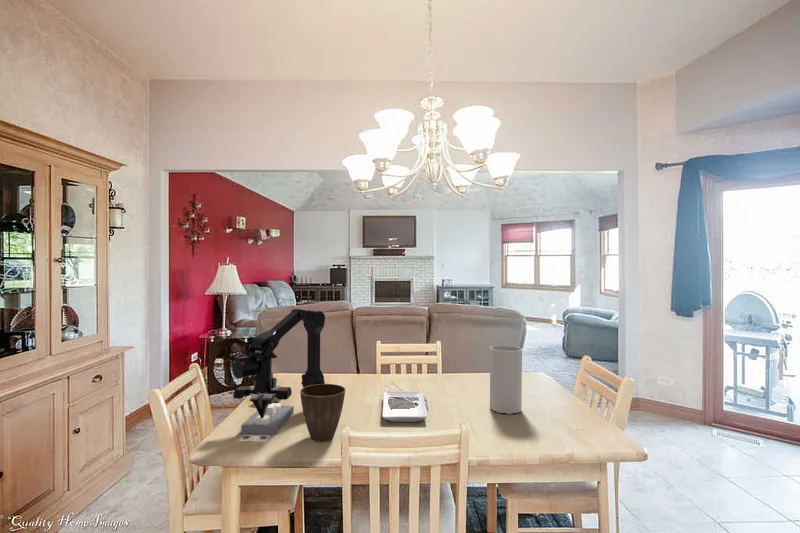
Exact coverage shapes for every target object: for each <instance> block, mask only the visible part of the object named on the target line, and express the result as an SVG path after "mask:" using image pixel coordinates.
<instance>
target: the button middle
mask: <svg viewBox="0 0 800 533" xmlns="http://www.w3.org/2000/svg"><path fill="white" fill-rule="evenodd" d="M276 405H277V404H272V403H271V404H270V403H269V405H268V407H267V410H266V413H265V415H267V416H270V417H272V418H274V417H275V416H276Z"/></svg>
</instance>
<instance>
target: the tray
mask: <svg viewBox="0 0 800 533" xmlns="http://www.w3.org/2000/svg"><path fill="white" fill-rule="evenodd" d="M389 397H418V398H419V405H418V406H417V407H415V408H410V409H392V410H391V409H390V407H389V405H388V398H389ZM427 417H428V412H427V406H426V402H425V398H424V394H423V391H421V390H415V391H414V390H412V391H410V390H405V391H401V390H400V391H384V392H383V399H382V414H381V418H383V419H384V420H387V421H389V422H391V423H392V422H395V423H396V422H397V423H398V422H399V423H400V422H401V423H403V422H404V423H407V422H409V423H415V422H416V423H417V422H420V421H422V420H424V419H426V418H427Z"/></svg>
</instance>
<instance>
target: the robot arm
mask: <svg viewBox="0 0 800 533" xmlns="http://www.w3.org/2000/svg"><path fill="white" fill-rule="evenodd" d="M301 321H302V322H303V327H304V329H305V331H306V333H307V346H306V347H307V358H306V359H307V361H306V363H307V364H306V366H307V369H306V370H305V373H302V374H301V384H300V385H302V388H304V387H306V386H310V385H316V384H326V381H325V376H324V373H323V371H322V370H321V332H322V331H323V329H324V327H325V322H326V314H325V313H324V312H323V311H321V310H310V309H308V310H306V309H303V308H292V309H291V311H290V312H289V313H288V314H287V315H285V317H283V319H281V320H280V321H278V323H277V324H276V325H273V327H272V328H270V329H269V330H266V331H264V332H261V333H259V334H258V335H256V336H255V337H254V338H253V339H252V341H251V344H250V346H249V348H248V349H247V351H246V352H245V354H244V356H238V357H236V361H235V362H234V363H233V366H232V368H231V369H232V370H231V371H232V374H233V376H234V378H236V379H237V380H239V379H243V378H246V377H247V378H248V377H251V376H253V377H252V381H254V383H253V384H254V385H253V389H252V388H251V386H245V385H244V386H242V385H240V386H239V387H237V388H236V389H234V391H233V392H232V394H233V395H232V398H233V399H235V400H236V399H238V400H241V399H243V398H244V397H245V396H250V399H249V402H252V404H253V405H254V406H255V408H256V411H258V413H259V415H260V417H261V418H264V416H265V413H266V410H267V407H268V405H269V404H270V403H271V402H270V401H272V400H273V399H274V398H275V397H276V398H277V399H280V401H281V400H283V401H285V400H288V399H289V398H290V397H291V396H292V395H293V393H292V388H291V387H290V386H281V387H280V388H279V389H278V390H271V389H273V388H276V385H277V381H278V378H276V377H274V375H273V374H274V373H273V372H272V371H273V370H272V369H273V366H272V363H273V359H277V358H278V356H277V355H276V354H275V353H274V351H275V350H276V348H277V347H278V345H279V343H280V340H282V338H283V337H284V336H285V335H287V334H288V333H289V332H290V331H291V330H292V329H293V328H294V327H295V326H297V324H299V323H300V322H301ZM263 396H264V397H265V398H264V399H263Z"/></svg>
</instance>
